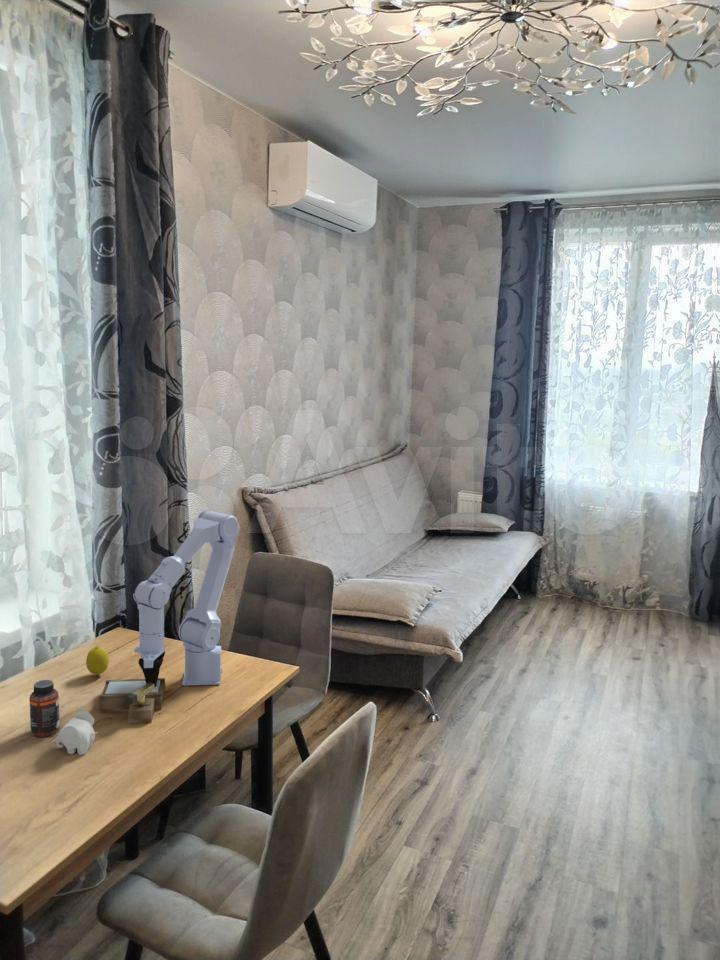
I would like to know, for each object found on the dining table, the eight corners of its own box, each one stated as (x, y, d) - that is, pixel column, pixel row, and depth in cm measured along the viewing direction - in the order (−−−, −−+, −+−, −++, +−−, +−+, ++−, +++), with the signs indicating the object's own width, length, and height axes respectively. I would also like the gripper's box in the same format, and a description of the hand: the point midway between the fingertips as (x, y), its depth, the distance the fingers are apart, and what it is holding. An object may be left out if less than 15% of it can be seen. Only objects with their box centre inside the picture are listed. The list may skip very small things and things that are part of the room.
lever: (149, 696, 174) (148, 682, 173) (154, 698, 173) (154, 683, 172) (127, 711, 166) (127, 696, 165) (133, 713, 165) (132, 698, 165)
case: (165, 690, 184) (165, 677, 183) (158, 722, 168) (158, 707, 168) (107, 692, 182) (106, 678, 181) (94, 724, 166) (94, 709, 165)
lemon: (104, 680, 188) (103, 651, 187) (83, 679, 188) (82, 650, 187) (112, 671, 193) (111, 642, 192) (91, 670, 193) (90, 641, 192)
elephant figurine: (60, 738, 160) (59, 707, 159) (104, 740, 160) (103, 710, 158) (44, 757, 152) (43, 725, 151) (90, 759, 152) (89, 728, 151)
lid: (160, 682, 181) (160, 667, 181) (157, 694, 175) (157, 679, 175) (109, 684, 179) (109, 669, 179) (104, 696, 173) (104, 680, 173)
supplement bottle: (66, 728, 164) (64, 681, 162) (44, 740, 159) (42, 691, 157) (46, 722, 166) (44, 675, 164) (24, 733, 161) (22, 685, 159)
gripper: (138, 619, 182) (139, 671, 184) (129, 642, 168) (130, 698, 170) (167, 619, 183) (168, 670, 185) (161, 641, 169) (162, 696, 171)
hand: (152, 683), depth 178 cm, fingers closed on lid, 2 cm apart
